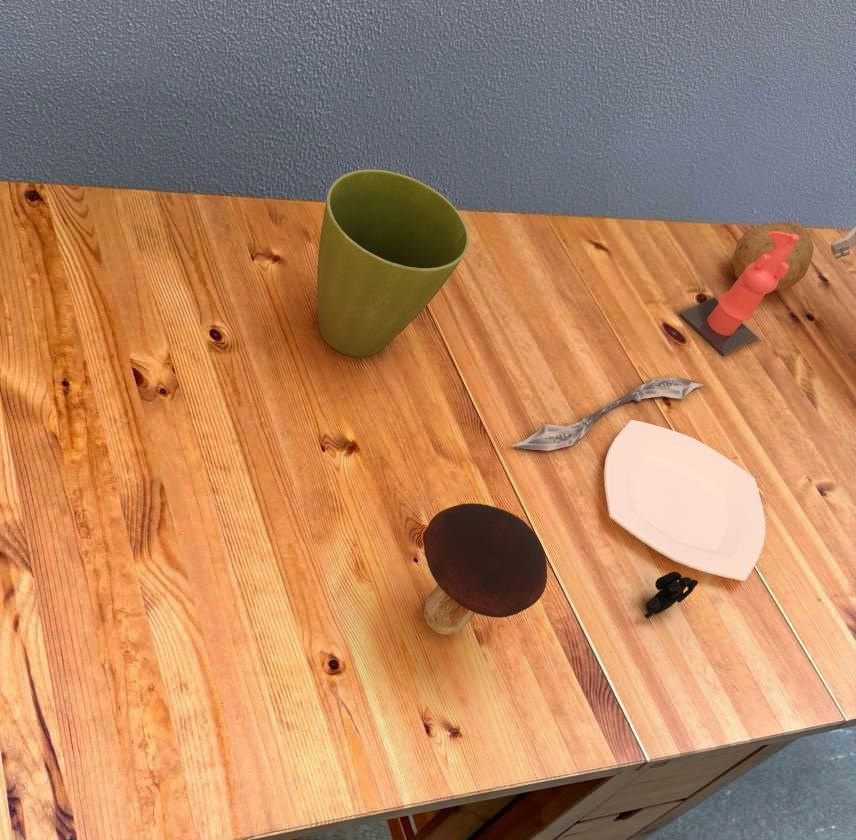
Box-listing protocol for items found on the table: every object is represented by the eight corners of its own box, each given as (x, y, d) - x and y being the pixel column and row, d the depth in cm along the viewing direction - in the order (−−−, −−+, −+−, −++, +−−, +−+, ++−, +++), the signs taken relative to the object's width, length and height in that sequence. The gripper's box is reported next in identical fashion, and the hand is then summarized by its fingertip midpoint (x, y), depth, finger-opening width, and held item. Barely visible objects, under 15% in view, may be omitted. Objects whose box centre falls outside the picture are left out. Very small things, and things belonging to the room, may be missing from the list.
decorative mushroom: (414, 688, 85) (483, 602, 73) (363, 583, 90) (420, 487, 78) (514, 658, 90) (594, 573, 78) (461, 560, 95) (528, 466, 83)
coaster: (755, 339, 130) (757, 337, 130) (723, 356, 126) (725, 354, 125) (712, 299, 132) (714, 297, 132) (679, 314, 128) (680, 312, 128)
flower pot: (336, 268, 114) (379, 150, 102) (437, 340, 112) (495, 229, 100) (260, 325, 106) (297, 204, 93) (369, 405, 103) (422, 291, 91)
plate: (749, 609, 102) (761, 600, 100) (582, 530, 102) (591, 519, 100) (760, 484, 113) (770, 474, 112) (610, 413, 113) (619, 402, 112)
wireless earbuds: (637, 625, 96) (665, 599, 92) (621, 605, 97) (648, 578, 93) (682, 602, 100) (711, 577, 96) (667, 583, 101) (695, 557, 97)
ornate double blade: (704, 388, 120) (677, 361, 122) (707, 385, 120) (679, 358, 122) (536, 476, 104) (506, 443, 106) (538, 472, 103) (508, 439, 105)
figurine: (700, 328, 127) (773, 236, 115) (704, 305, 130) (775, 214, 118) (735, 345, 127) (812, 255, 115) (738, 322, 130) (813, 232, 118)
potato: (699, 272, 135) (734, 226, 129) (749, 246, 143) (784, 201, 137) (753, 318, 132) (791, 273, 126) (800, 289, 140) (839, 245, 134)
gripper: (933, 157, 121) (815, 206, 127) (1005, 268, 110) (871, 316, 115) (935, 194, 126) (820, 239, 131) (1003, 304, 115) (875, 348, 120)
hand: (845, 276), depth 123 cm, fingers open, 8 cm apart
